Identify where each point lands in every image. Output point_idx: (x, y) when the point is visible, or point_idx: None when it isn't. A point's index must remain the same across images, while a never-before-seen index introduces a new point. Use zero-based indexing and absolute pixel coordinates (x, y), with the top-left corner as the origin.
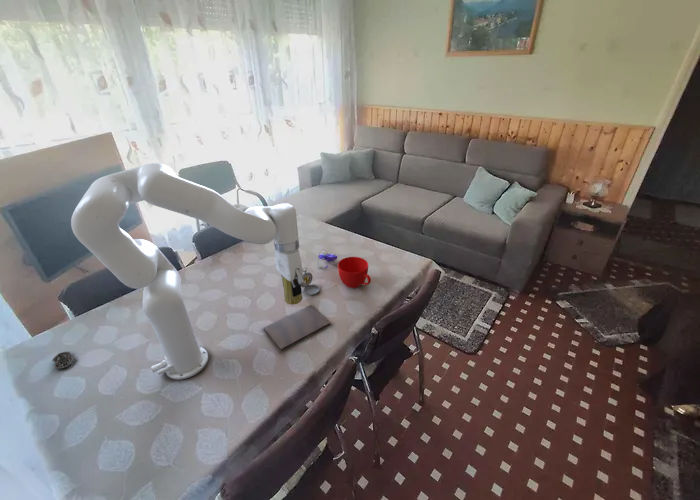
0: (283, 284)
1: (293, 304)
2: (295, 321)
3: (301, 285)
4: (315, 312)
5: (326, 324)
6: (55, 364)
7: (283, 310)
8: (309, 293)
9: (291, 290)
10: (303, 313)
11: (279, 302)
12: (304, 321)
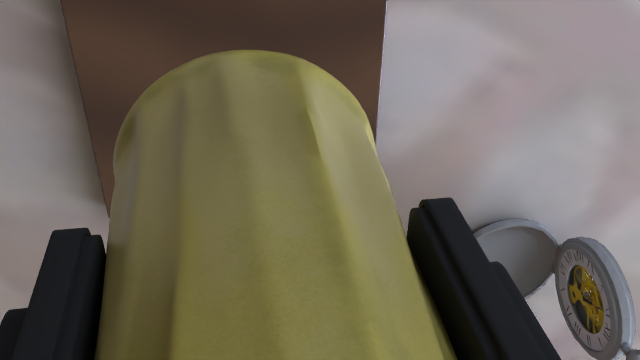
0: (353, 283)
1: (126, 119)
2: (282, 20)
3: (579, 243)
4: None
5: (104, 194)
6: None
7: (489, 5)
8: (489, 238)
9: (104, 310)
10: None
11: (592, 25)
12: None
